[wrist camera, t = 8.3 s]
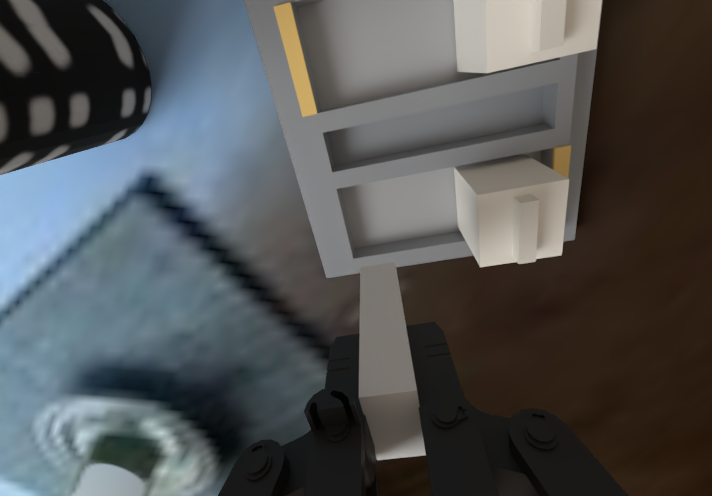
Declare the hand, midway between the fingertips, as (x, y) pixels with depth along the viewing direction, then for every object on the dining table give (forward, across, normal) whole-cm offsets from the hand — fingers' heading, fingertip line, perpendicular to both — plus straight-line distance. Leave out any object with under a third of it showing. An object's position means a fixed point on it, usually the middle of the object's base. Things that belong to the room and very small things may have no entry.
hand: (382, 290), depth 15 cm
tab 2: (+8, +7, +1) cm, 11 cm away
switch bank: (+9, +4, +5) cm, 11 cm away
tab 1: (+7, +8, +10) cm, 14 cm away
